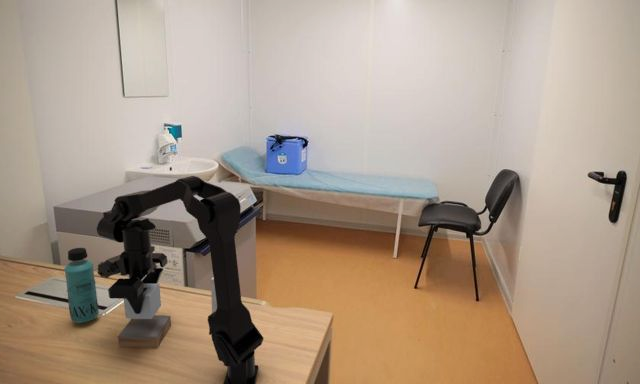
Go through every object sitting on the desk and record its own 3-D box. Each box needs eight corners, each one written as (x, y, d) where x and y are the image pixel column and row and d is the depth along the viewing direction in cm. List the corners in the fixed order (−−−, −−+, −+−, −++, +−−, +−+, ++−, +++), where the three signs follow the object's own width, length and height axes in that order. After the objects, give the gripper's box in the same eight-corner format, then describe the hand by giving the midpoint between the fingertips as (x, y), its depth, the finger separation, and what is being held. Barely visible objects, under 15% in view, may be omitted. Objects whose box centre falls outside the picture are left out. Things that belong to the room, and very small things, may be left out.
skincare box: (227, 322, 104) (225, 280, 101) (211, 320, 105) (209, 278, 102) (236, 310, 110) (235, 270, 107) (221, 308, 111) (220, 268, 108)
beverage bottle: (65, 323, 102) (54, 251, 97) (90, 311, 108) (81, 242, 103) (81, 331, 99) (70, 257, 94) (106, 318, 105) (97, 247, 100)
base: (157, 347, 93) (156, 336, 93) (119, 347, 93) (117, 336, 93) (171, 325, 102) (170, 315, 101) (135, 325, 102) (134, 314, 101)
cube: (151, 319, 93) (149, 295, 92) (125, 318, 93) (123, 295, 92) (161, 305, 99) (159, 283, 97) (137, 305, 99) (134, 283, 97)
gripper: (121, 231, 101) (127, 287, 105) (79, 262, 83) (88, 328, 86) (165, 232, 101) (170, 287, 105) (133, 263, 83) (139, 329, 87)
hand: (143, 306), depth 96 cm, fingers closed on cube, 6 cm apart
